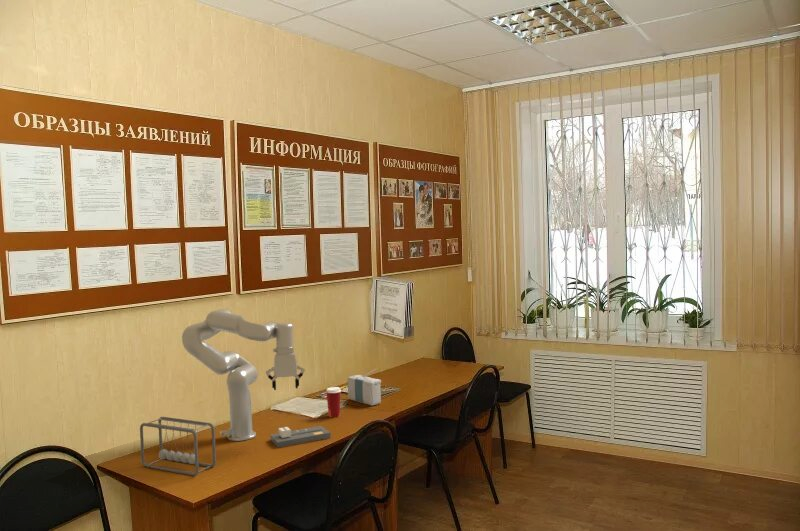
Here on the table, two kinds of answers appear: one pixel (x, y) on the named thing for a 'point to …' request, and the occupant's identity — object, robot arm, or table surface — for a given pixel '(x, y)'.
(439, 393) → the table surface
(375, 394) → the stereo radio cassette player
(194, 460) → the newton's cradle
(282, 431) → the fader knob
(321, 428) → the fader panel
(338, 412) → the paper cup
